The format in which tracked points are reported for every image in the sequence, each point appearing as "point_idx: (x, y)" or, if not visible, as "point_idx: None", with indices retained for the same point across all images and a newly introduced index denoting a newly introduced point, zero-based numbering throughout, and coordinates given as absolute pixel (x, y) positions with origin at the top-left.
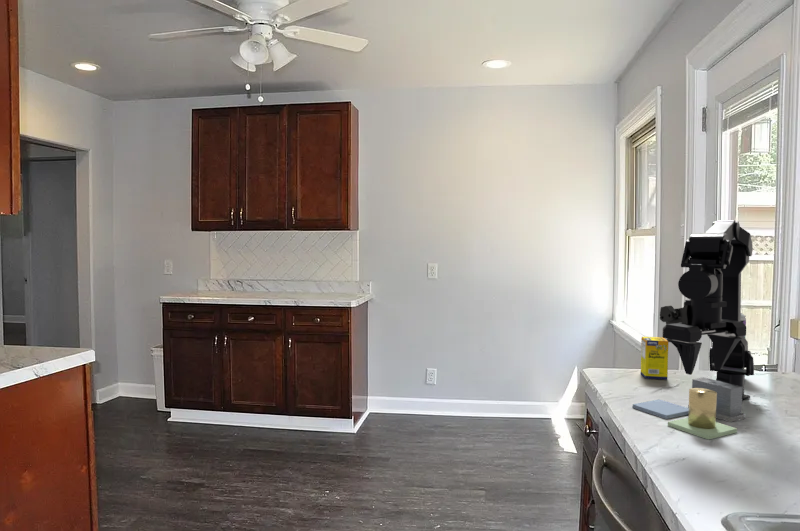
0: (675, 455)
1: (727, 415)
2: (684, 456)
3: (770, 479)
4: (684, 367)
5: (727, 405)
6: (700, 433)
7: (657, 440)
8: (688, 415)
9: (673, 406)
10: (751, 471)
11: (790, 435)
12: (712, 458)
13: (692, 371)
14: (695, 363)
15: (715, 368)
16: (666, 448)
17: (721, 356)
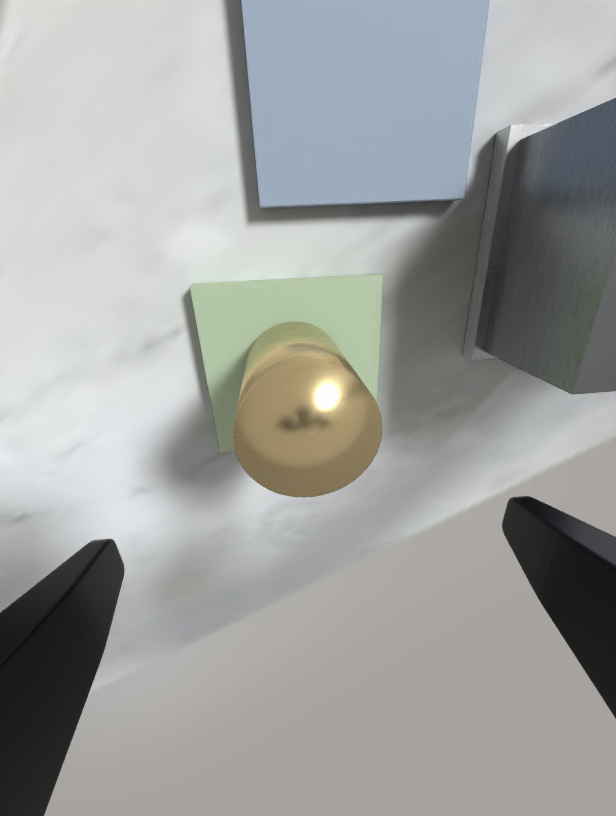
0: (11, 497)
1: (484, 341)
2: (36, 509)
3: (151, 631)
4: (37, 592)
5: (511, 350)
6: (216, 425)
7: (30, 390)
8: (255, 347)
9: (428, 92)
10: (146, 602)
11: (481, 495)
12: (111, 537)
13: (108, 607)
14: (70, 729)
15: (511, 504)
16: (17, 452)
17: (610, 660)
